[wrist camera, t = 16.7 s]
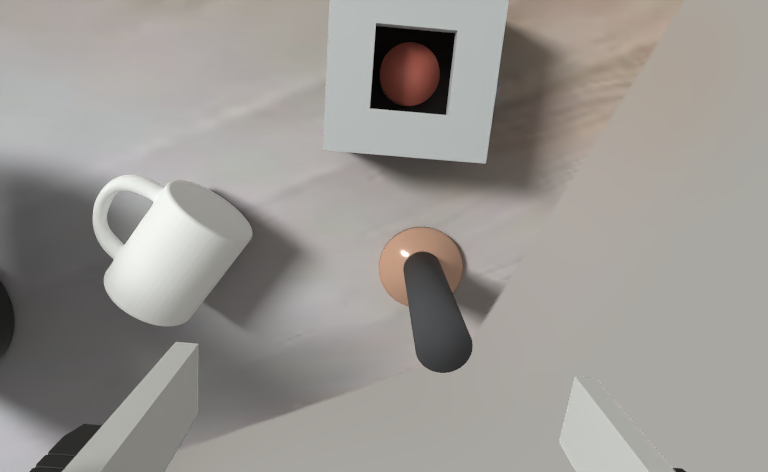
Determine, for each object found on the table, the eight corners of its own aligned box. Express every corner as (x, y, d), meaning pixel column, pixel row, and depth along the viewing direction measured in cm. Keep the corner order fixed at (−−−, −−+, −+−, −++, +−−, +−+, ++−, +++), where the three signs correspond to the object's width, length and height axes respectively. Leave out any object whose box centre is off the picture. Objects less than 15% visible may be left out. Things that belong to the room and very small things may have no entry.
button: (377, 104, 38) (377, 103, 35) (382, 45, 37) (382, 39, 34) (431, 108, 38) (436, 108, 35) (437, 50, 37) (443, 45, 34)
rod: (401, 285, 43) (412, 370, 29) (405, 250, 42) (418, 319, 28) (438, 288, 43) (468, 374, 29) (442, 252, 43) (475, 323, 28)
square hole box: (333, 143, 40) (322, 150, 33) (341, -3, 37) (331, -35, 30) (465, 154, 41) (485, 163, 33) (484, 10, 38) (511, -17, 30)
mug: (263, 226, 42) (237, 251, 35) (204, 303, 44) (167, 342, 37) (154, 145, 40) (100, 152, 33) (97, 228, 42) (34, 253, 35)
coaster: (376, 302, 44) (375, 304, 44) (382, 223, 42) (382, 225, 42) (456, 308, 45) (457, 310, 44) (466, 230, 43) (467, 231, 42)
